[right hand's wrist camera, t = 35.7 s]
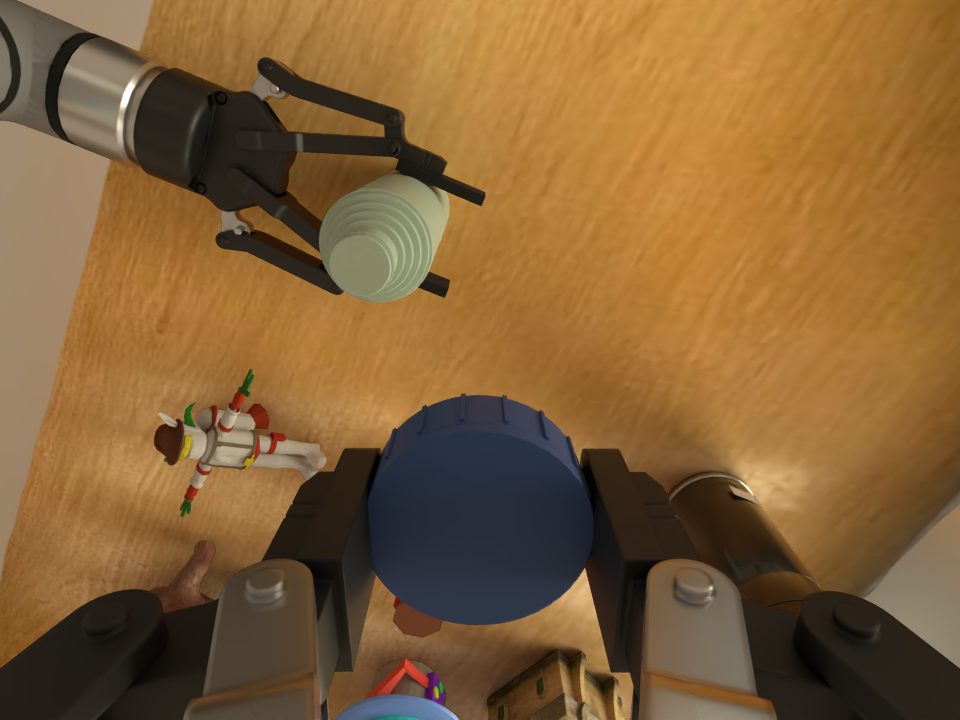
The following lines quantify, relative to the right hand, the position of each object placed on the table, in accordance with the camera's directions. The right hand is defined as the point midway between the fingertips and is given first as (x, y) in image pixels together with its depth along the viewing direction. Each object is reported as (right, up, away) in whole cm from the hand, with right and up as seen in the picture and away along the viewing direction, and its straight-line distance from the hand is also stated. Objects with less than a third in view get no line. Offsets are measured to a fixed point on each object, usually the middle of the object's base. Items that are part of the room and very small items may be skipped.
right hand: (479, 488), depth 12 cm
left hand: (-1, +11, +32) cm, 34 cm away
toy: (-22, -4, +45) cm, 50 cm away
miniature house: (+10, -39, +59) cm, 72 cm away
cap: (0, 0, -1) cm, 1 cm away
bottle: (-6, +16, +37) cm, 41 cm away
